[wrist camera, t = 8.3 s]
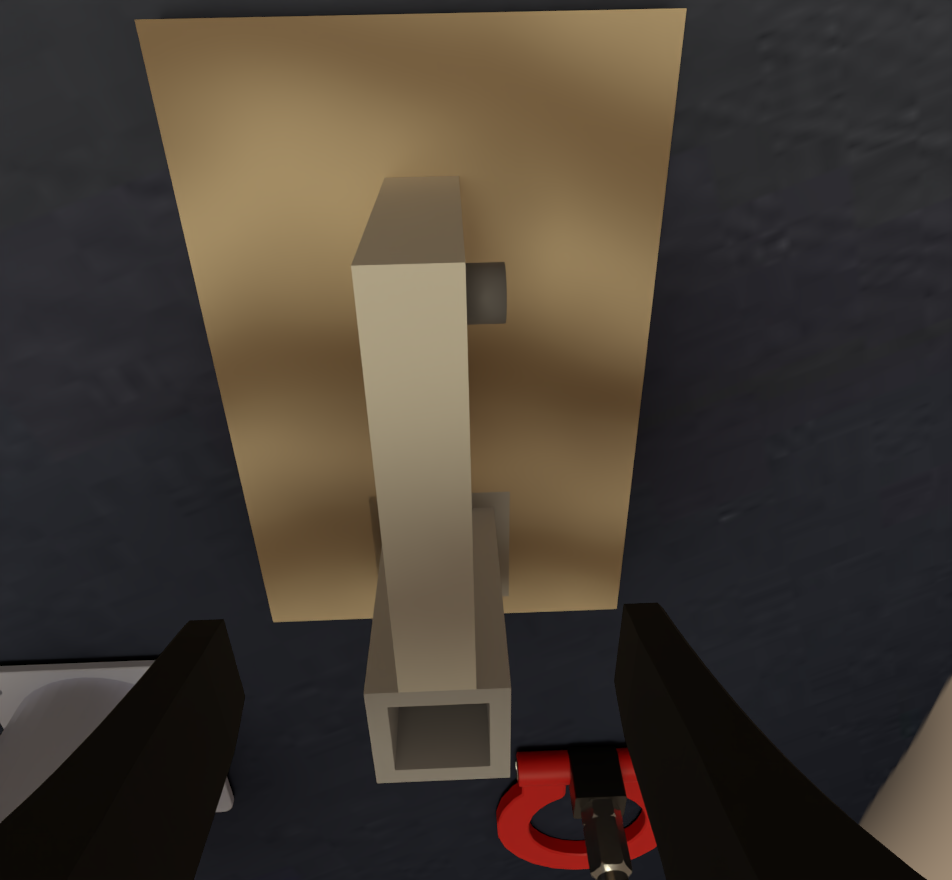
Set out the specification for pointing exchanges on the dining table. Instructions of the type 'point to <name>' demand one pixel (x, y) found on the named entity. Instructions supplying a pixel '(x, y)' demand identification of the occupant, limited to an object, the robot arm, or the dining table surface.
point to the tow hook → (577, 810)
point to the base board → (485, 240)
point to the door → (429, 494)
